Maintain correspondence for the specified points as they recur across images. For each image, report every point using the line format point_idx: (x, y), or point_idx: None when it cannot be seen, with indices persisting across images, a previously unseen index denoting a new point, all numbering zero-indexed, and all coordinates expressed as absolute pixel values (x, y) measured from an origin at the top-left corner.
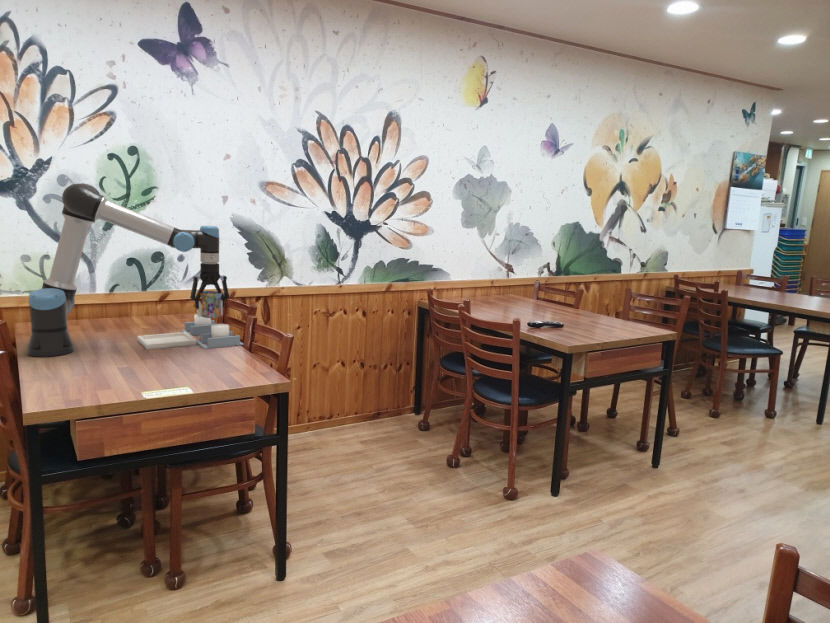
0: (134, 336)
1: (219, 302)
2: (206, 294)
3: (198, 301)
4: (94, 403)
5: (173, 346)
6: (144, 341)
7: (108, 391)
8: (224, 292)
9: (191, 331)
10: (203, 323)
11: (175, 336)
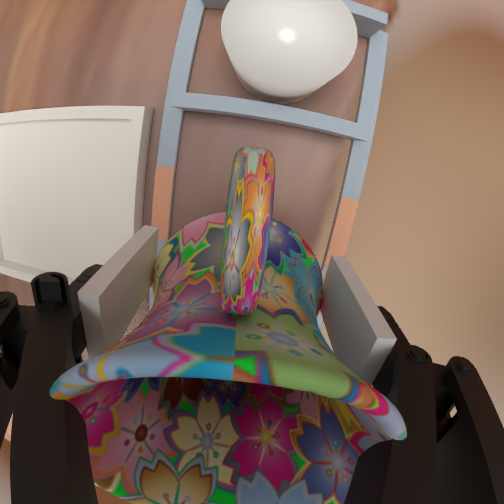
0: (13, 38)
1: (358, 338)
2: (129, 498)
3: (84, 343)
4: (9, 438)
5: None
6: None
7: (8, 426)
8: (452, 431)
9: (180, 108)
10: (265, 91)
11: (102, 119)
